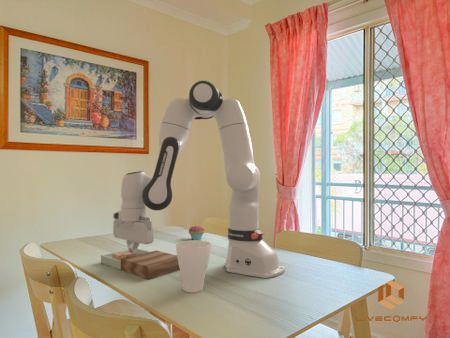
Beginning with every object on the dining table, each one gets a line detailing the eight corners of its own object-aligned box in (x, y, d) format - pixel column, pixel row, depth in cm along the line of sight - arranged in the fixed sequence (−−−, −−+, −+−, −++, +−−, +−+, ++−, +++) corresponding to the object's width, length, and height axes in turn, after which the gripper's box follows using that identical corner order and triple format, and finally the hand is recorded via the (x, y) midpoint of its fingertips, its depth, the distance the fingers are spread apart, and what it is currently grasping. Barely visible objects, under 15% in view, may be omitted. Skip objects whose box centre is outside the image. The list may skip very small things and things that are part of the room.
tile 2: (130, 262, 121) (135, 263, 119) (121, 264, 118) (126, 266, 116) (130, 251, 121) (135, 253, 119) (121, 253, 118) (126, 255, 116)
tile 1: (121, 252, 125) (121, 259, 125) (112, 254, 121) (112, 261, 121) (127, 253, 122) (127, 261, 122) (118, 255, 119) (118, 263, 119)
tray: (156, 260, 125) (156, 253, 126) (120, 269, 113) (120, 261, 113) (136, 255, 134) (136, 248, 134) (100, 263, 121) (101, 255, 121)
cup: (217, 288, 95) (218, 243, 95) (191, 298, 87) (192, 249, 88) (194, 280, 102) (194, 238, 102) (168, 289, 94) (168, 243, 95)
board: (184, 268, 116) (184, 257, 116) (149, 279, 103) (149, 267, 103) (156, 260, 125) (156, 250, 126) (120, 269, 113) (120, 258, 113)
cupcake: (187, 238, 170) (187, 216, 170) (202, 237, 172) (202, 215, 172) (190, 241, 161) (190, 218, 162) (206, 240, 164) (206, 217, 164)
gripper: (158, 217, 113) (157, 255, 113) (124, 212, 126) (124, 247, 126) (143, 218, 108) (143, 259, 108) (110, 213, 121) (109, 250, 121)
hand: (132, 252), depth 117 cm, fingers closed
